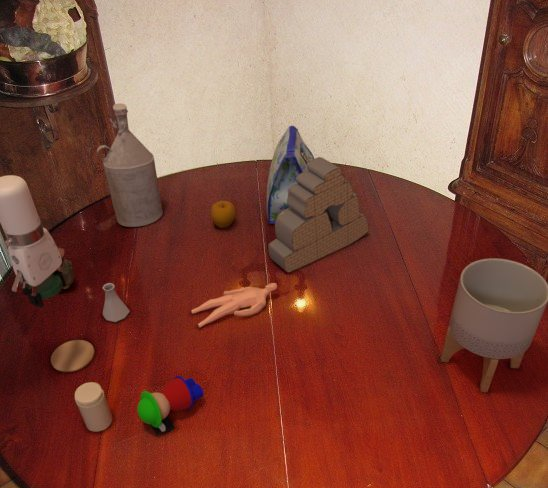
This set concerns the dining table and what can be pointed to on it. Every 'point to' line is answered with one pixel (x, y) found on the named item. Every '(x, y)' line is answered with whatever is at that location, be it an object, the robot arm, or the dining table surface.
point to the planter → (495, 313)
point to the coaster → (72, 356)
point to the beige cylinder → (93, 406)
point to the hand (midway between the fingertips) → (49, 294)
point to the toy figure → (168, 403)
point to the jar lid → (49, 286)
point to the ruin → (317, 217)
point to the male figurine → (236, 303)
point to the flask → (113, 305)
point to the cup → (67, 274)
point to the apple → (223, 213)
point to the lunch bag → (285, 171)
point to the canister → (131, 176)
